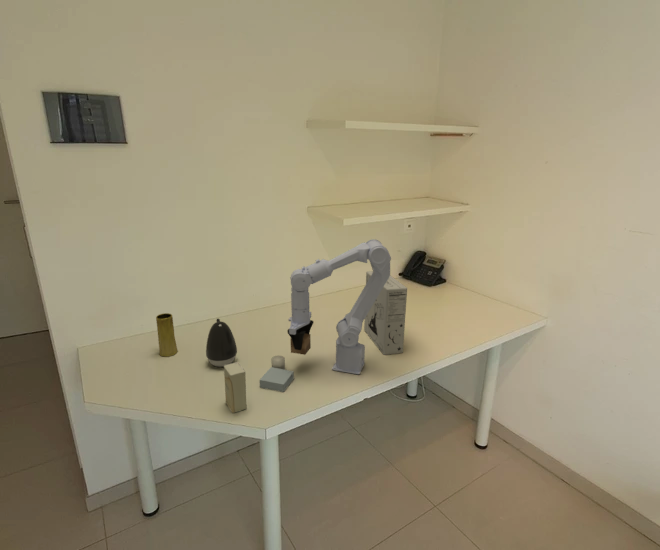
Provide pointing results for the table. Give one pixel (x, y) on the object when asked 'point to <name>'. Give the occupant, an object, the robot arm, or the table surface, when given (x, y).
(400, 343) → the product box
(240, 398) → the skincare box
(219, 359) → the black egg shape
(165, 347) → the vase
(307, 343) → the walnut cube
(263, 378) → the slate plinth
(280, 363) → the grey rounded lump
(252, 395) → the table surface
